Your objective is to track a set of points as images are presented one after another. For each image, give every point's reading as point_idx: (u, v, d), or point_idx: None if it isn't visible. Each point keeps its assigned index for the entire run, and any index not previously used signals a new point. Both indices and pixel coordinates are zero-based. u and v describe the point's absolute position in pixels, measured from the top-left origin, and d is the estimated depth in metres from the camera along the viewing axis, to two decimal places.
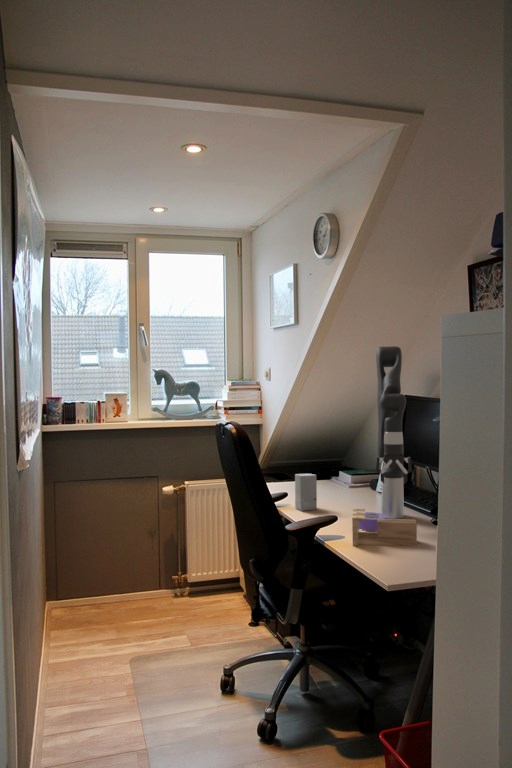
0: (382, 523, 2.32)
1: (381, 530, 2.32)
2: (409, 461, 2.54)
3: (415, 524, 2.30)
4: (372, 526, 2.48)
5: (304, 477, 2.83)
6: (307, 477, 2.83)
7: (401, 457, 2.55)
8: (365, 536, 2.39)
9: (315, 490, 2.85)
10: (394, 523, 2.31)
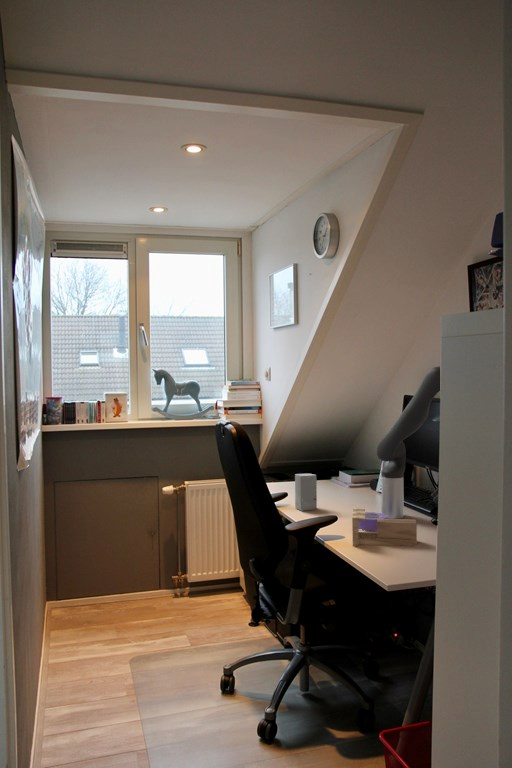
0: (382, 523, 2.32)
1: (381, 530, 2.32)
2: None
3: (415, 524, 2.30)
4: (372, 526, 2.48)
5: (304, 477, 2.83)
6: (307, 477, 2.83)
7: None
8: (365, 536, 2.39)
9: (315, 490, 2.85)
10: (394, 523, 2.31)
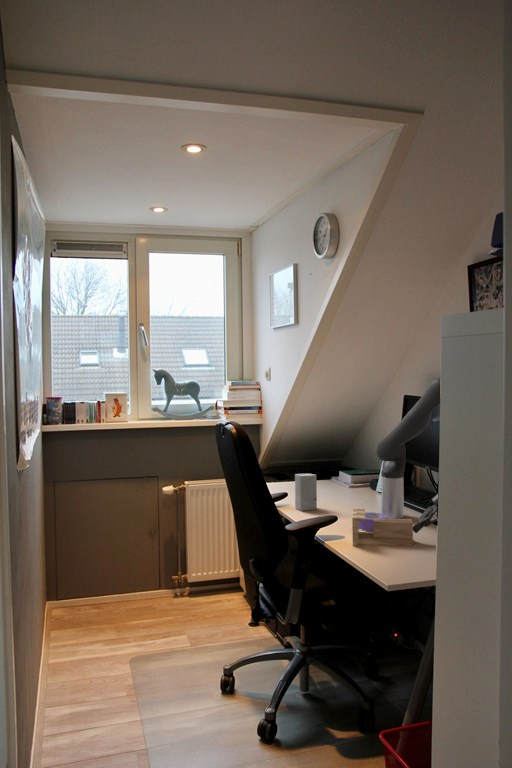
0: (378, 523, 2.32)
1: (377, 529, 2.32)
2: None
3: (411, 524, 2.30)
4: (372, 526, 2.48)
5: (304, 477, 2.83)
6: (307, 477, 2.83)
7: None
8: (365, 536, 2.39)
9: (315, 490, 2.85)
10: (390, 523, 2.31)
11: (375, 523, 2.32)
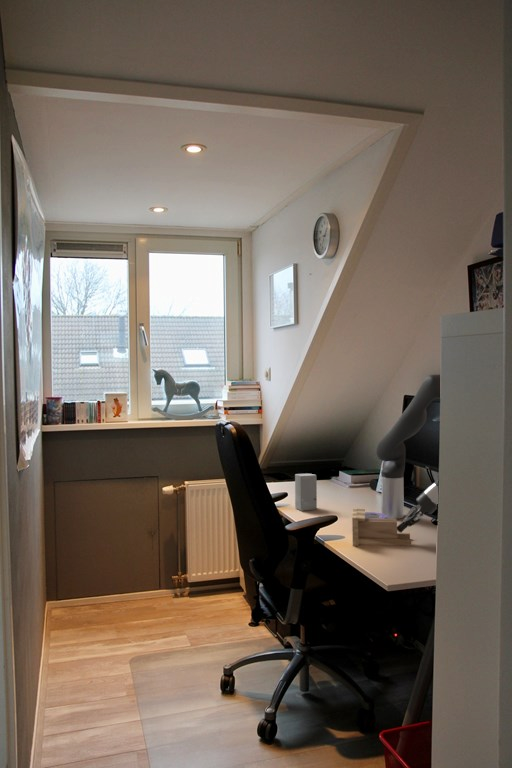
0: (363, 522, 2.33)
1: (362, 529, 2.33)
2: None
3: (395, 523, 2.31)
4: None
5: (304, 477, 2.83)
6: (307, 477, 2.83)
7: None
8: None
9: (315, 490, 2.85)
10: (375, 522, 2.32)
11: (360, 523, 2.33)
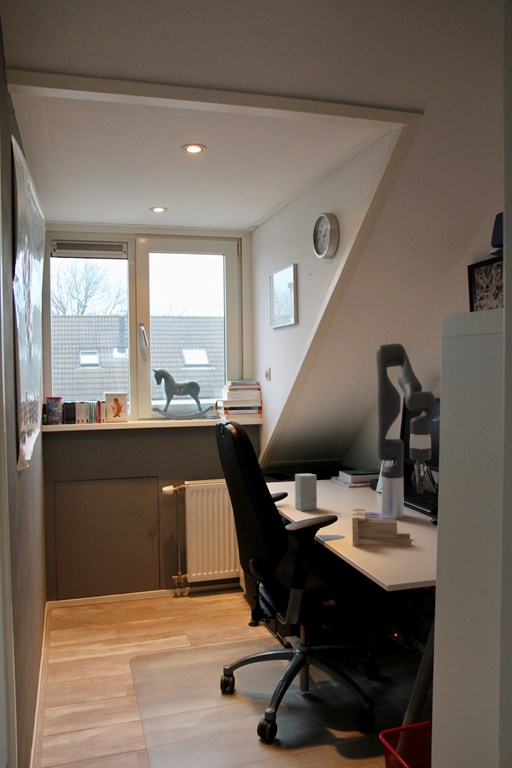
0: (363, 523, 2.33)
1: (362, 529, 2.33)
2: None
3: (395, 524, 2.31)
4: None
5: (304, 477, 2.83)
6: (307, 477, 2.83)
7: None
8: None
9: (315, 490, 2.85)
10: (375, 523, 2.32)
11: (360, 523, 2.33)
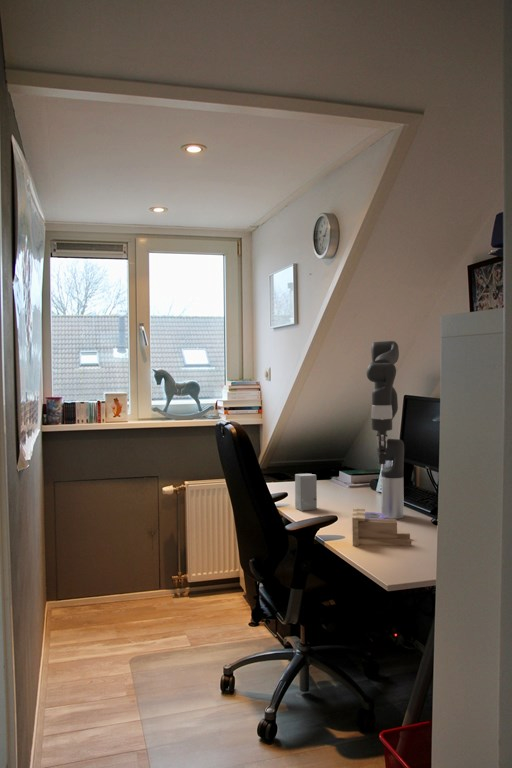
0: (363, 523, 2.33)
1: (362, 529, 2.33)
2: None
3: (395, 524, 2.31)
4: None
5: (304, 477, 2.83)
6: (307, 477, 2.83)
7: None
8: None
9: (315, 490, 2.85)
10: (375, 523, 2.32)
11: (360, 523, 2.33)
